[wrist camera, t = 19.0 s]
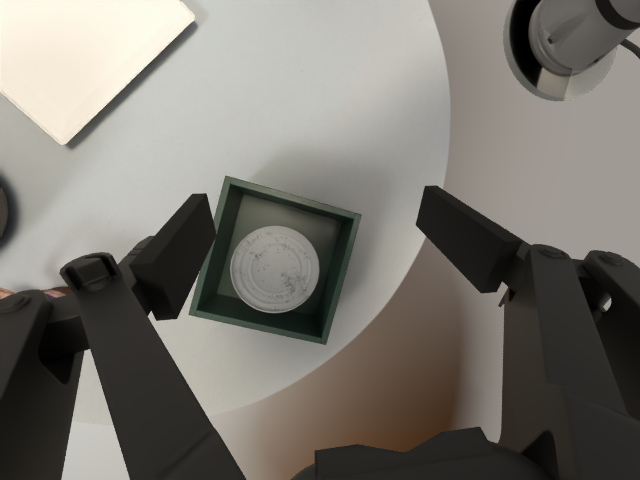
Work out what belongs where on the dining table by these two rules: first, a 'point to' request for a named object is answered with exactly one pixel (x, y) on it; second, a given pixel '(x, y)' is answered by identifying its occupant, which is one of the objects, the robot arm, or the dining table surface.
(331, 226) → the bin
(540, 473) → the robot arm
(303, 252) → the white speckled cylinder
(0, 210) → the vase
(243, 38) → the dining table surface
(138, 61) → the white flat square slab
